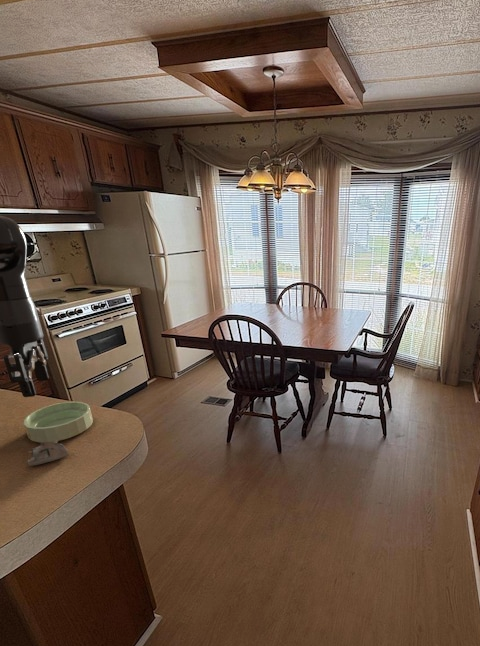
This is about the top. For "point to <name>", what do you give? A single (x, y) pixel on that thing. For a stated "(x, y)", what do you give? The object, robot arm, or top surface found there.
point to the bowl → (58, 421)
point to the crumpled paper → (47, 453)
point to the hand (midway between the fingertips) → (37, 387)
